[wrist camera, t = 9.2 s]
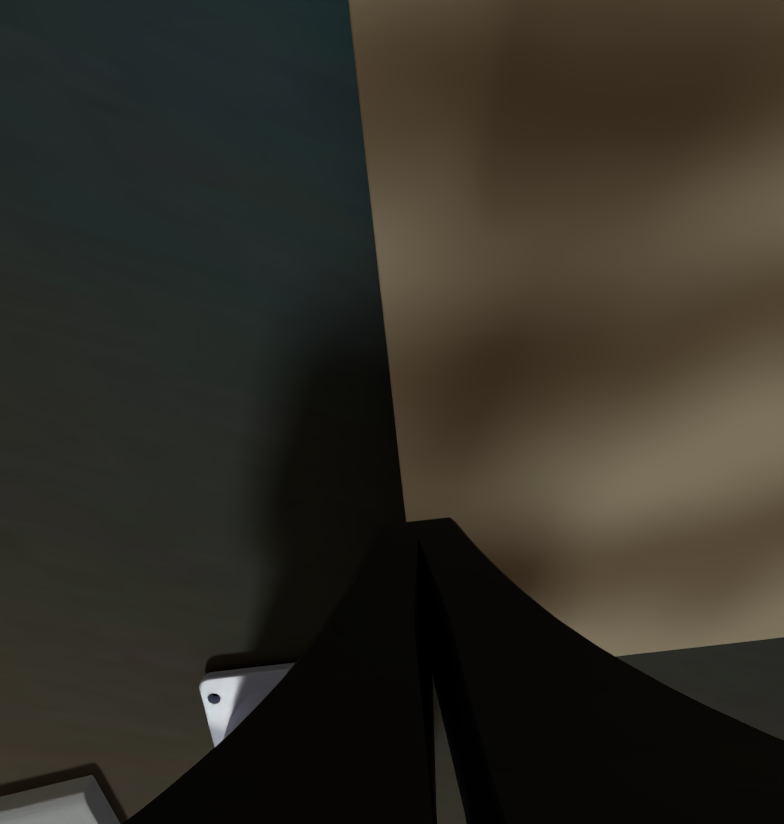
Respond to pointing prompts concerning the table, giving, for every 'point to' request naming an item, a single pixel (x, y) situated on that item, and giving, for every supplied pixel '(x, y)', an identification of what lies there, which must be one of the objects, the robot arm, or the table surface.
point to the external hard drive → (59, 804)
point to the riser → (589, 298)
